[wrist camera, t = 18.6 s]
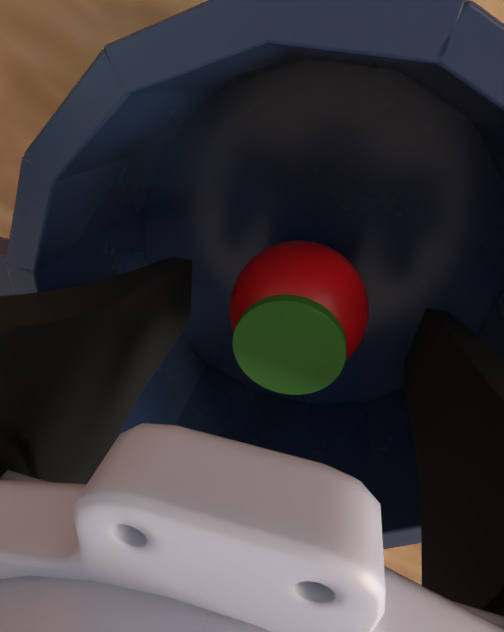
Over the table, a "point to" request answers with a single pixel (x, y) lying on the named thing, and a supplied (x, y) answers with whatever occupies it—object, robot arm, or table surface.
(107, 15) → the table surface
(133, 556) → the robot arm
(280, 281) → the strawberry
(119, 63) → the pot
